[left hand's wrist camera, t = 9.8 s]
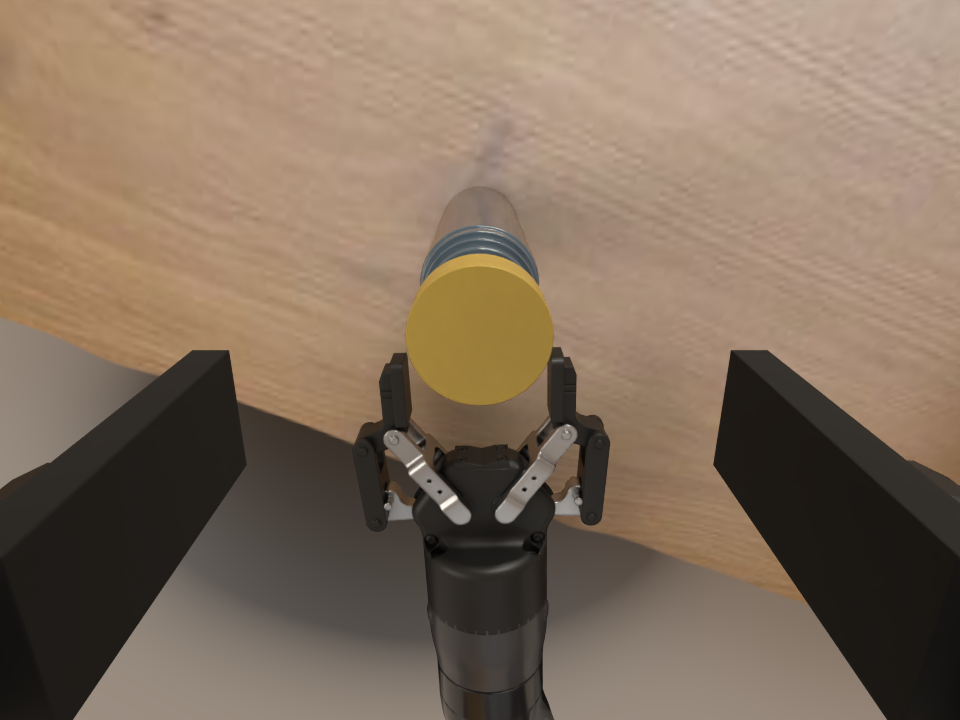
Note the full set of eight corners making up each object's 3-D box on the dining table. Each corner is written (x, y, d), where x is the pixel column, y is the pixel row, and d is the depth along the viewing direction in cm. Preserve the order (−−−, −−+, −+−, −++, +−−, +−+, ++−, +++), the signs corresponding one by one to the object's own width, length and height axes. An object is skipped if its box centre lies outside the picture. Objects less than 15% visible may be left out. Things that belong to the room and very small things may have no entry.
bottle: (477, 170, 36) (474, 223, 17) (533, 223, 37) (589, 329, 18) (426, 228, 37) (370, 338, 18) (481, 278, 38) (483, 431, 19)
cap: (475, 223, 18) (474, 233, 17) (576, 317, 19) (584, 334, 18) (383, 324, 19) (374, 342, 18) (483, 407, 20) (483, 432, 19)
